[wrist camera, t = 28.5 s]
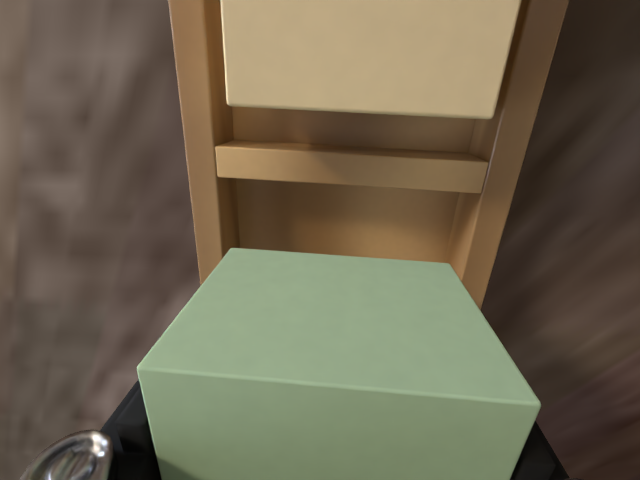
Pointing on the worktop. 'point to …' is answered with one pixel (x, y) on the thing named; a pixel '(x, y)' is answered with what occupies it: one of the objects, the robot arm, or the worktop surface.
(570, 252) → the worktop surface
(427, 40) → the tan block
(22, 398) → the worktop surface
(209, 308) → the green block
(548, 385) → the worktop surface
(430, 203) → the divided wooden tray
